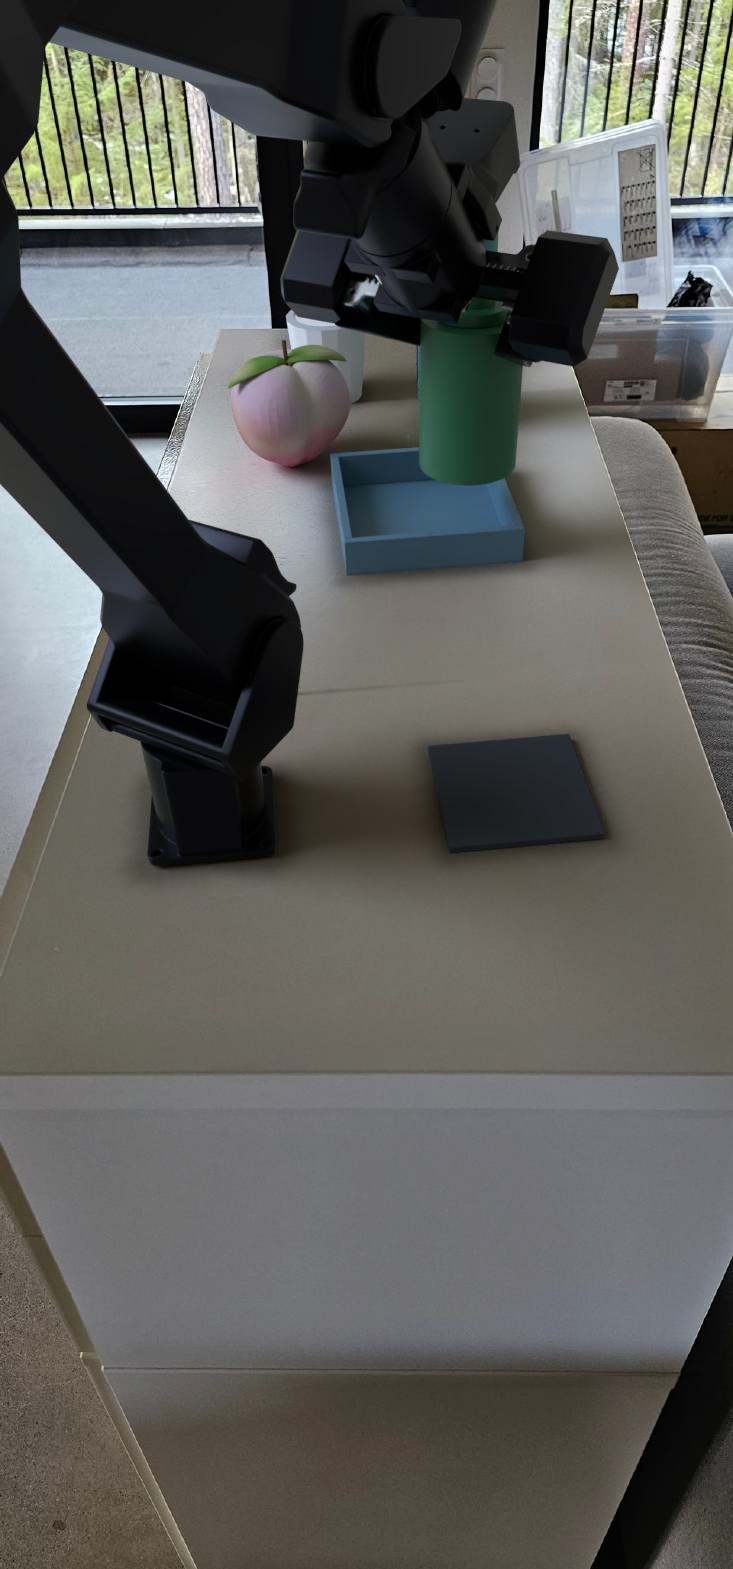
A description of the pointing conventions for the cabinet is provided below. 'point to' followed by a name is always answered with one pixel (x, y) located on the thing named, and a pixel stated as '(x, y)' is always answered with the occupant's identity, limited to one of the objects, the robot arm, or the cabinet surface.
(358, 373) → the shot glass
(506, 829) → the mat
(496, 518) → the tray
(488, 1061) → the cabinet surface
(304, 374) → the decorative fruit
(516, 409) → the green bottle
